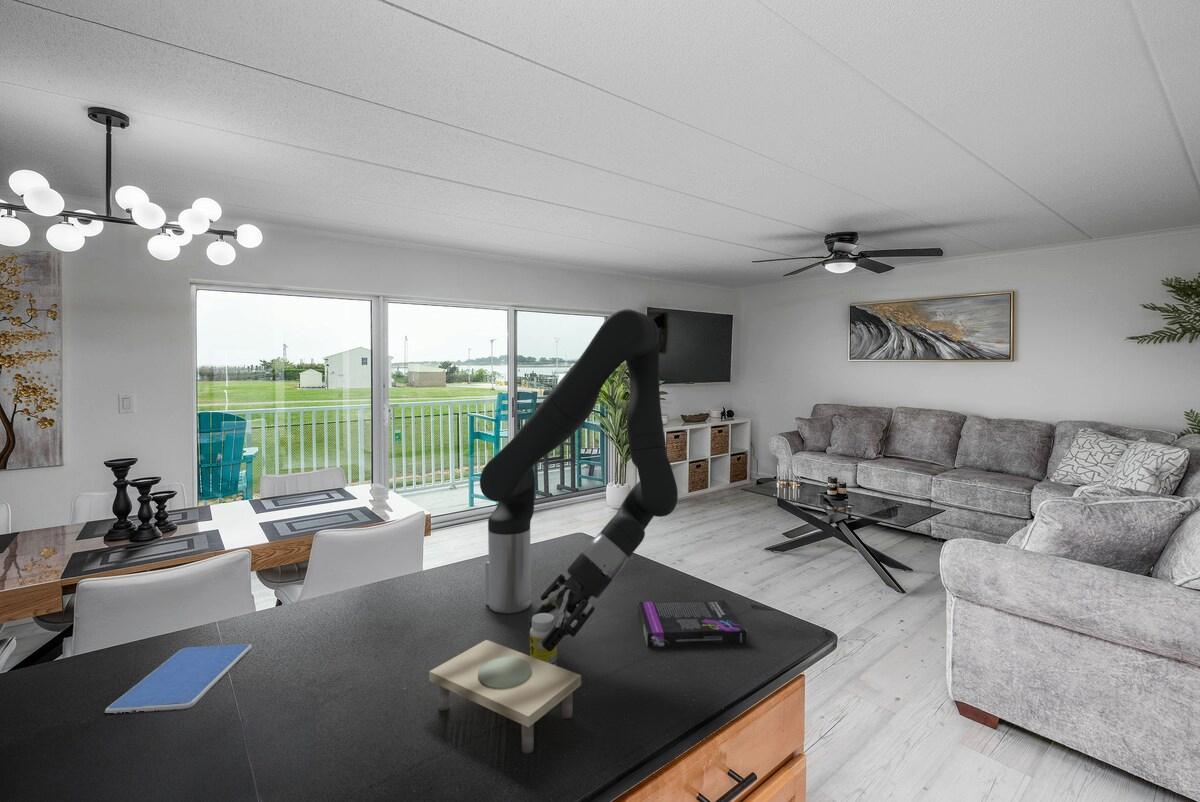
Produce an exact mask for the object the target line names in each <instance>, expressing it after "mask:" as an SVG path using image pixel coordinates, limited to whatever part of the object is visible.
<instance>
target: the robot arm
mask: <svg viewBox="0 0 1200 802" xmlns="http://www.w3.org/2000/svg"><path fill="white" fill-rule="evenodd" d="M659 331H660V330H659V327H658V325H657V323H656V322H655V320H654V319H653V318H652V317H650V316H648V315H647V314H644V313H642V312H639V311H637V310H633V309H629V308H625V309H623V308H622V309H617V310H616V311H614V312H612V313H611V314H610V315H609V316H608V317H607V318H606V319H605V321H604V322H603V323H602V324H601V325H600V327H599V329H598V330H597V331H596V333H595V335H594V336H593V337H592V338H591V341H590V342H589V344H588V345H587V346H586V348H585V350H584V351H583V352H582V354H581V355H580V356H579V358H578V359H577V360H576V361H575V363H574V364H573V365H572V366H571V367H570V368H569V370H568V371H567V372H566V373H565V374H564V376H563V377H562V379H560V381H559V382H558V383H556V385H555V387H553V388H552V390H551V391H550V392H549V393H548V394H547V395H546V396H545V398H544V399H543V400H542V402H541V403H540V404H539V405H538V407H537V408H536V410H534V412H533V413H532V414H531V415H530V417H529V418H528V419H527V420H526V421H525V423H524V424H523V426H521V428H519V430H518V432H517V433H515V435H514V436H513V437H512V439H511V440H510V441H509V442H508V443H507V444H506V445H505V446H504V447H502V449H501V450H500V451H499V452H498V453H497V454H496V455H494V457H493V458H492V459H490V460H489V461H488V462H487V463H486V464H485V466H484V467H483V469H482V471H481V474H480V477H479V487H480V491H481V492H482V494H483V496H484V497H485V498H486V499H488V500H489V501H493V502H498V504H497V505H496V508H495V509H494V511H493V512H492V513H491V514H490V515H489V518H488V521H487V522H488V523H487V524H488V525H487V533H488V534H487V535H488V536H487V537H488V539H487V540H488V544H487V545H488V561H486V562H485V566H484V569H485V575H484V576H485V605H486V606H488V607H489V609H490V610H491V611H493V612H494V613H500V614H515V613H519V612H522V611H524V610H527V609H528V608H529V607H530V606H531V601H532V599H531V598H532V595H531V594H532V591H531V588H532V581H531V580H532V578H531V574H532V572H531V571H532V569H531V568H532V566H531V565H532V564H531V521H532V519H533V515H534V513H535V512H534V511H535V495H536V494H535V493H536V492H535V491H536V479H535V478H536V477H535V471H534V468H533V467H534V466H535V465H536V464H537V463H538V462H539V461H541V460H542V459H543V458H544V457H546V456H547V455H548V454H549V453H551V452H552V451H554V450H555V449H556V448H558V447H559V446H561V445H562V444H564V442H566V441H567V440H568V439H569V438H571V437H572V436H573V435H574V433H575V432H577V430H579V428H581V426H582V425H583V424H584V423H585V422H586V420H588V418H589V416H590V415H591V413H592V412H593V410H594V408H595V407H596V406H595V405H596V403H597V401H598V399H599V395H600V393H601V391H602V388H603V387H604V385H605V383H606V381H607V380H608V379H609V378H610V376H611V375H612V374H613V373H614V372H615V371H617V369H619V367H620V366H621V365H622V364H623V363H626V367H627V370H628V377H629V396H628V397H629V398H628V406H627V413H626V431H627V433H626V434H627V441H628V447H629V455H630V459H631V462H632V463H633V464H634V466H635V467H636V469H637V474H638V478H639V481H638V482H637V483H636V484H635V485H634V486H633V487H632V488H631V489H630V491H629V492H628V494H627V495H626V496H625V498H624V500H623V502H622V503H621V505H620V507H619V508H618V510H617V512H616V514H615V515H614V516H612V518H611V519H610V520H609V522H607V523H606V525H604V527H603V529H602V530H601V531H600V532H599V533H598V534H597V535H596V536H595V537H594V538H593V539H592V540H591V541H590V542H589V543H588V544H587V546H586V547H585V548H584V549H583V550H582V551H581V552H580V553H579V554H578V556H577V557H576V558H575V560H574V561H573V562H572V563H571V565H569V567H568V568H567V570H566V571H567V574H568V575H570V576H569V578H567V577H565V575H563V574H562V573H561V574H559V575H558V576H557V578H555V580H554V581H553V582H552V583H551V584H550V585H549V586H548V588H547V589H545V591H543V593H542V594H541V596H540V600H541V603H540V607H539V608H538V609H537V610H536V612H535V613H534V614H533V615H532V617H533V616H534V615H536V614H539V613H549V614H552V613H553V612H555V611H557V610H558V614H559V616H558V617H559V618H558V620H557V623H556V625H554V628H553V629H552V630H551V631H550V632H549V634H548V635H547V636H546V637H545V639H544V640H543V641H542V643H541V644H542V646H543V647H544V648H545V649H546V650H548V651H549V652H550V651H552V650H553V649H554V648H555V646H556V645H558V644H559V643H560V642H561V641H562V639H563V638H564V636H568V635H569V636H570V637H572V638H574V637H575V636H576V635H577V634H578V633H579V631H580V630H581V629H582V627H583V626H584V624H585V623H586V622H587V621H588V619H589V618H590V616H591V615H592V614H593V613H594V611H595V610H596V608H595V606H594V605H593V604H591V602H589V600H590V599H591V597H593V598H595V599H597V598H600V596H601V595H602V594H603V592H604V591H605V590H606V589H607V588H608V586H609V585H610V584H611V583H612V582H613V580H614V579H616V577H617V576H618V574H619V573H620V572H621V570H622V569H623V568H624V566H625V564H626V563H627V561H628V559H629V558H630V557H631V556H632V554H633V553H635V551H636V549H638V547H639V546H640V545H641V543H642V542H643V540H644V539H645V536H646V532H645V530H646V528H647V527H648V525H649V524H650V522H651V521H652V520H653V518H655V517H658V518H661V517H666V516H668V515H670V514H671V513H673V512H674V510H675V508H676V507H677V503H678V497H679V494H678V486H677V482H676V478H675V474H674V471H673V468H672V465H671V463H670V460H669V456H668V452H667V451H668V450H667V446H666V445H667V444H666V443H667V442H666V438H665V437H666V435H665V429H664V423H663V415H662V407H661V405H662V404H661V396H660V395H661V394H660V365H659V364H660V332H659ZM532 617H531V618H530V619H529V620H528V624H529V627H530V628H532ZM574 624H575V625H574Z"/></svg>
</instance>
